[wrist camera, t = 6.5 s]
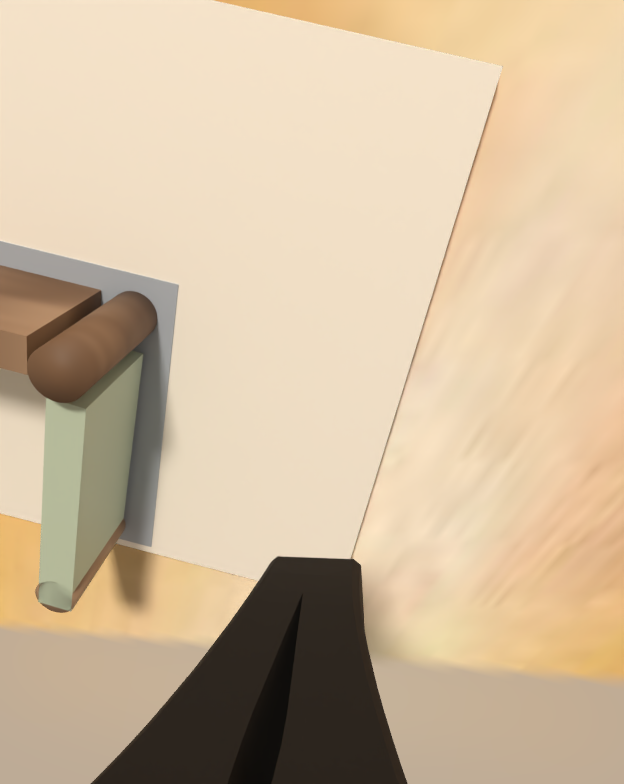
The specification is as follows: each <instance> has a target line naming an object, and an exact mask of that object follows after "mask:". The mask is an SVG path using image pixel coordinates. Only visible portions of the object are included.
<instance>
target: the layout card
mask: <svg viewBox="0 0 624 784" xmlns="http://www.w3.org/2000/svg"><path fill="white" fill-rule="evenodd" d="M502 67H503V66H500V65H496V64H491V63H487V62H482V61H478V60H474V59H469V58H465V57H460V56H456V55H452V54H447V53H443V52H438V51H434V50H429V49H425V48H421V47H416V46H412V45H407V44H403V43H399V42H394V41H390V40H385V39H381V38H377V37H372V36H368V35H363V34H359V33H355V32H350V31H346V30H341V29H337V28H333V27H328V26H324V25H319V24H315V23H311V22H306V21H302V20H297V19H293V18H289V17H284V16H280V15H275V14H271V13H266V12H262V11H258V10H253V9H249V8H244V7H240V6H236V5H231V4H227V3H222V2H218V1H214V0H0V265H2V266H6V267H10V268H14V269H18V270H22V271H26V272H30V273H34V274H39V275H43V276H47V277H51V278H55V279H59V280H63V281H67V282H71V283H75V284H79V285H83V286H87V287H91V288H95V289H99V290H101V306H102V305H103V304H105V303H106V302H108V301H109V300H111V299H112V298H114V297H115V296H117V295H118V294H120V293H122V292H125V291H135V292H138V293H141V294H143V295H144V296H146V297H147V298H148V299H149V300H150V301H151V302H152V304H153V305H154V307H155V309H156V312H157V325H156V327H155V329H154V330H153V332H152V333H151V334H150V335H148V336H147V337H146V338H145V339H144V340H143V341H142V342H141V343H140V344H139V345H137V346H136V347H135V348H134V349H133V350H132V351H136V352H139V353H143V361H142V369H141V378H140V386H139V394H138V403H137V411H136V419H135V428H134V436H133V445H132V453H131V461H130V470H129V478H128V486H127V495H126V503H125V511H124V520H125V523H126V527H125V530H124V531H123V533H122V535H121V536H120V538H119V539H118V541H117V542H116V544H119V545H123V546H127V547H131V548H135V549H139V550H142V551H146V552H150V553H154V554H158V555H161V556H165V557H169V558H173V559H177V560H181V561H184V562H188V563H192V564H196V565H200V566H203V567H207V568H211V569H215V570H219V571H223V572H226V573H230V574H234V575H238V576H242V577H245V578H249V579H253V580H257V581H259V580H260V578H261V577H262V575H263V574H264V572H265V570H266V569H267V567H268V566H269V564H270V563H271V561H272V560H274V559H275V558H276V557H277V556H282V557H309V558H337V559H351V556H352V553H353V549H354V546H355V543H356V540H357V536H358V533H359V530H360V527H361V523H362V520H363V517H364V514H365V510H366V507H367V504H368V501H369V498H370V494H371V491H372V488H373V485H374V481H375V478H376V475H377V472H378V468H379V465H380V462H381V459H382V456H383V452H384V449H385V446H386V443H387V439H388V436H389V433H390V430H391V426H392V423H393V420H394V417H395V413H396V410H397V407H398V404H399V401H400V397H401V394H402V391H403V388H404V384H405V381H406V378H407V375H408V371H409V368H410V365H411V362H412V358H413V355H414V352H415V349H416V346H417V342H418V339H419V336H420V333H421V329H422V326H423V323H424V320H425V316H426V313H427V310H428V307H429V304H430V300H431V297H432V294H433V291H434V287H435V284H436V281H437V278H438V274H439V271H440V268H441V265H442V261H443V258H444V255H445V252H446V249H447V245H448V242H449V239H450V236H451V232H452V229H453V226H454V223H455V219H456V216H457V213H458V210H459V207H460V203H461V200H462V197H463V194H464V190H465V187H466V184H467V181H468V177H469V174H470V171H471V168H472V164H473V161H474V158H475V155H476V152H477V148H478V145H479V142H480V139H481V135H482V132H483V129H484V126H485V122H486V119H487V116H488V113H489V110H490V106H491V103H492V100H493V97H494V93H495V90H496V87H497V84H498V80H499V77H500V74H501V71H502ZM45 413H46V397H44V396H43V395H42V394H41V393H39V392H38V391H37V390H36V388H35V387H34V386H33V384H32V383H31V381H30V379H29V376H28V375H25V374H21V373H17V372H14V371H10V370H6V369H2V368H0V513H1V514H5V515H9V516H13V517H16V518H20V519H24V520H28V521H32V522H35V523H39V524H41V519H42V492H43V466H44V440H45Z"/></svg>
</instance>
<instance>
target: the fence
mask: <svg viewBox="0 0 624 784" xmlns="http://www.w3.org/2000/svg"><path fill="white" fill-rule="evenodd" d="M156 325H157V312H156V309H155V307H154V305H153V304H152V302H151V301H150V300H149V299H148V298H147V297H146V296H144V295H143V294H141V293H138V292H135V291H125V292H122V293H120V294H118V295H117V296H115V297H114V298H112V299H111V300H109V301H108V302H106V303H105V304H103V305H102V306H101V290H99V289H95V288H91V287H87V286H83V285H79V284H75V283H71V282H67V281H63V280H59V279H55V278H51V277H47V276H43V275H39V274H34V273H30V272H26V271H22V270H18V269H14V268H10V267H6V266H2V265H0V368H2V369H6V370H10V371H14V372H17V373H21V374H25V375H28V376H29V379H30V381H31V383H32V384H33V386H34V387H35V388H36V390H37V391H38V392H39V393H41V394H42V395H43V396H44V397H46V398H48V399H50V400H52V401H55V402H59V403H70V402H74V401H76V400H78V399H79V398H80V397H81V396H82V395H84V394H85V393H86V392H87V391H88V390H89V389H90V388H91V387H92V386H93V385H95V384H96V383H97V382H98V381H99V380H100V379H101V378H102V377H103V376H104V375H106V374H107V373H108V372H109V371H110V370H111V369H112V368H113V367H114V366H115V365H117V364H118V363H119V362H120V361H121V360H122V359H123V358H124V357H125V356H126V355H128V354H129V353H130V352H131V351H132V350H133V349H134V348H135V347H136V346H137V345H139V344H140V343H141V342H142V341H143V340H144V339H145V338H146V337H147V336H148V335H150V334H151V333H152V332H153V330H154V329H155V327H156Z"/></svg>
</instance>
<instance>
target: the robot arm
mask: <svg viewBox="0 0 624 784" xmlns="http://www.w3.org/2000/svg"><path fill="white" fill-rule="evenodd" d="M91 784H407V781H406V778H405V775H404V773H403V769H402V767H401V764H400V761H399V758H398V755H397V752H396V748H395V745H394V742H393V739H392V736H391V733H390V729H389V726H388V723H387V719H386V716H385V713H384V710H383V706H382V703H381V699H380V695H379V692H378V689H377V684H376V680H375V676H374V672H373V668H372V663H371V659H370V655H369V651H368V646H367V641H366V636H365V629H364V612H363V594H362V576H361V565H360V564H359V563H357V562H356V561H355V560H354V559H337V558H309V557H282V556H277V557H276V558H275V559H274V560H272V561H271V563H270V564H269V566H268V567H267V569H266V570H265V572H264V574H263V575H262V577H261V578H260V580H259V581H258V583H257V584H256V586H255V587H254V589H253V590H252V592H251V593H250V595H249V596H248V597H247V599H246V600H245V602H244V603H243V605H242V606H241V607H240V609H239V610H238V612H237V613H236V614H235V616H234V617H233V619H232V620H231V621H230V623H229V624H228V625H227V627H226V628H225V629H224V631H223V632H222V633H221V635H220V636H219V637H218V639H217V640H216V641H215V643H214V644H213V645H212V647H211V648H210V649H209V650H208V652H207V653H206V654H205V656H204V657H203V658H202V660H201V661H200V662H199V664H198V665H197V666H196V667H195V669H194V670H193V671H192V672H191V674H190V675H189V676H188V677H187V678H186V679H185V681H184V682H183V683H182V684H181V685H180V687H179V688H178V689H177V690H176V691H175V692H174V694H173V695H172V696H171V697H170V698H169V700H168V701H167V702H166V703H165V705H164V706H163V707H162V708H161V709H160V710H159V711H158V713H157V714H156V715H155V716H154V717H153V718H152V720H151V721H150V722H149V723H148V724H147V725H146V726H145V727H144V729H143V730H142V731H141V732H140V733H139V734H138V735H137V736H136V737H135V739H134V740H133V741H132V742H131V743H130V744H129V745H128V746H127V747H126V748H125V749H124V750H123V751H122V752H121V754H120V755H119V756H117V758H116V759H115V760H114V761H113V762H112V763H111V764H110V765H109V766H108V767H107V768H106V769H105V770H104V771H103V772H102V773H101V774H100V775H99V776H98V777H97V778H96V779H95V780H94V781H93V782H92V783H91Z"/></svg>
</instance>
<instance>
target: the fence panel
mask: <svg viewBox="0 0 624 784" xmlns="http://www.w3.org/2000/svg"><path fill="white" fill-rule="evenodd" d="M142 361H143V353H139V352H136V351H131V352H130V353H129V354H128V355H126V356H125V357H124V358H123V359H122V360H121V361H120V362H119V363H118V364H117V365H115V366H114V367H113V368H112V369H111V370H110V371H109V372H108V373H107V374H106V375H104V376H103V377H102V378H101V379H100V380H99V381H98V382H97V383H96V384H95V385H93V386H92V387H91V388H90V389H89V390H88V391H87V392H86V393H85V394H84V395H82V396H81V397H80V398H79V399H78V400H76V401H74V402H70V403H59V402H55V401H52V400H50V399H48V398H46V413H45V440H44V466H43V492H42V519H41V545H40V572H39V584H38V586H37V587H36V591H35V593H36V597H37V599H38V602H40V603H41V604H42V605H43V606H44V607H46V608H47V609H49V610H51V611H54V612H59V613H64V612H68V611H72V609H73V608H74V606H75V605H76V603H77V602H78V600H79V599H80V597H81V596H82V594H83V593H84V591H85V589H86V588H87V586H88V585H89V583H90V582H91V580H92V579H93V577H94V576H95V574H96V573H97V571H98V570H99V568H100V567H101V565H102V564H103V562H104V561H105V559H106V558H107V556H108V554H109V553H110V551H111V550H112V548H113V547H114V545H115V544H116V542H117V541H118V539H119V538H120V536H121V535H122V533H123V531H124V530H125V527H126V523H125V520H124V511H125V503H126V495H127V486H128V478H129V470H130V461H131V453H132V445H133V436H134V428H135V419H136V411H137V403H138V394H139V386H140V378H141V369H142Z"/></svg>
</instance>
